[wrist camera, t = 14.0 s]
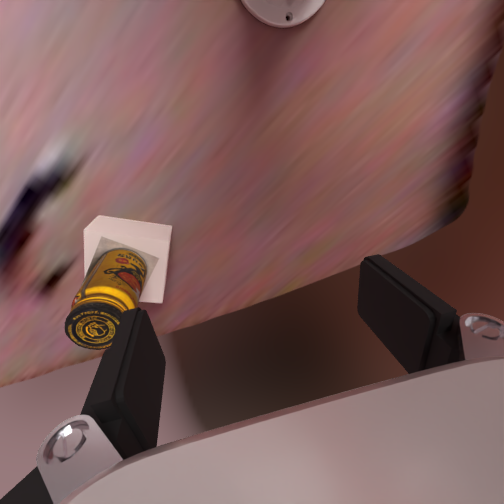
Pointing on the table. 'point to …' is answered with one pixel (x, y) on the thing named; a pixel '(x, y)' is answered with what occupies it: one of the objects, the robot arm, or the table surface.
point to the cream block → (136, 236)
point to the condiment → (108, 293)
